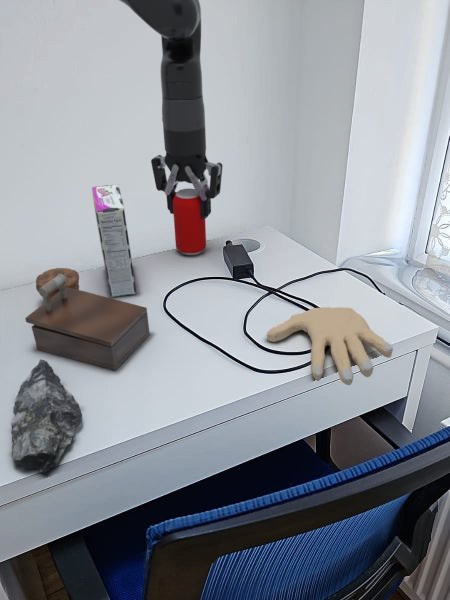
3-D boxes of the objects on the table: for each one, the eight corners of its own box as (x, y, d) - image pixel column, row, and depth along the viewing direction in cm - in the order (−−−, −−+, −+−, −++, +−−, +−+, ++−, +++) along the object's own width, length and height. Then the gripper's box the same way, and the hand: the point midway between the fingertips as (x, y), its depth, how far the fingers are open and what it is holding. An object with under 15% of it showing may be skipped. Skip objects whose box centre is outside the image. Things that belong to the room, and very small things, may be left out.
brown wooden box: (37, 349, 93) (31, 326, 90) (76, 316, 100) (71, 294, 97) (115, 370, 88) (111, 347, 85) (149, 334, 95) (147, 312, 93)
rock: (6, 352, 84) (14, 375, 87) (3, 459, 68) (13, 483, 71) (70, 340, 86) (76, 363, 89) (82, 442, 70) (89, 467, 73)
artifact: (40, 294, 106) (34, 269, 103) (82, 288, 107) (77, 264, 104) (40, 316, 100) (34, 290, 97) (84, 309, 102) (79, 284, 98)
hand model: (381, 302, 97) (399, 359, 80) (379, 327, 99) (396, 388, 82) (268, 303, 99) (262, 359, 82) (269, 328, 101) (263, 387, 85)
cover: (26, 322, 90) (19, 294, 86) (66, 290, 97) (61, 263, 94) (111, 347, 85) (107, 318, 82) (147, 311, 93) (144, 284, 89)
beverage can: (212, 251, 118) (210, 192, 111) (188, 260, 115) (184, 201, 108) (194, 241, 122) (191, 184, 114) (170, 250, 119) (165, 192, 111)
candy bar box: (104, 270, 113) (90, 186, 102) (130, 267, 114) (119, 183, 103) (109, 299, 104) (94, 210, 94) (137, 295, 105) (125, 206, 95)
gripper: (229, 121, 103) (230, 213, 114) (158, 114, 108) (166, 203, 119) (212, 133, 98) (214, 228, 109) (138, 125, 103) (147, 216, 113)
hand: (189, 214), depth 114 cm, fingers closed on beverage can, 6 cm apart
